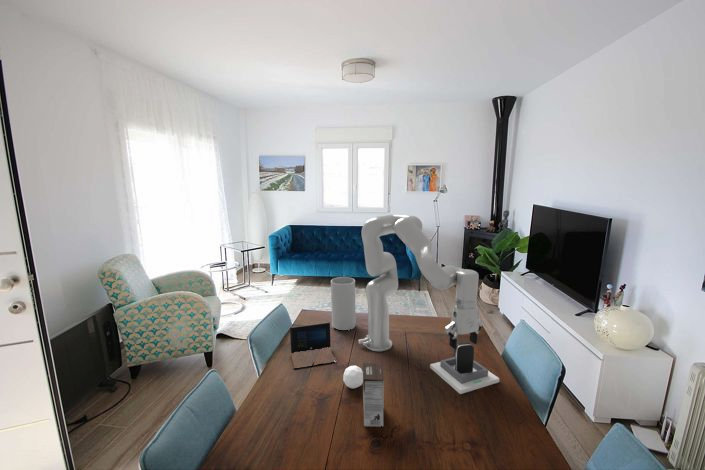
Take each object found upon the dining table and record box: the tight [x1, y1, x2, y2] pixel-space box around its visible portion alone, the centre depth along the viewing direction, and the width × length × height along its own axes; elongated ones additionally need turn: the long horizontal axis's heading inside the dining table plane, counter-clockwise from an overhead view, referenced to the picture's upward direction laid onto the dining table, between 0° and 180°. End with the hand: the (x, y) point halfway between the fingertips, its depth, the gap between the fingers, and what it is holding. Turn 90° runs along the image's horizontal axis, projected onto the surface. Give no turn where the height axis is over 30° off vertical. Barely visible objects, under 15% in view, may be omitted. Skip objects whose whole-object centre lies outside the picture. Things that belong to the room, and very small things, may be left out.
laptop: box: [289, 321, 337, 363], centre depth 137 cm, size 18×12×13 cm
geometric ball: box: [342, 365, 363, 389], centre depth 118 cm, size 8×8×8 cm
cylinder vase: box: [330, 276, 357, 331], centre depth 167 cm, size 12×12×25 cm
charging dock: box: [429, 356, 500, 395], centre depth 124 cm, size 18×18×4 cm
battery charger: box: [453, 341, 475, 374], centre depth 124 cm, size 7×4×11 cm, turn 100°
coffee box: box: [362, 362, 385, 427], centre depth 102 cm, size 9×6×16 cm
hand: (463, 344), depth 123 cm, fingers open, 9 cm apart
